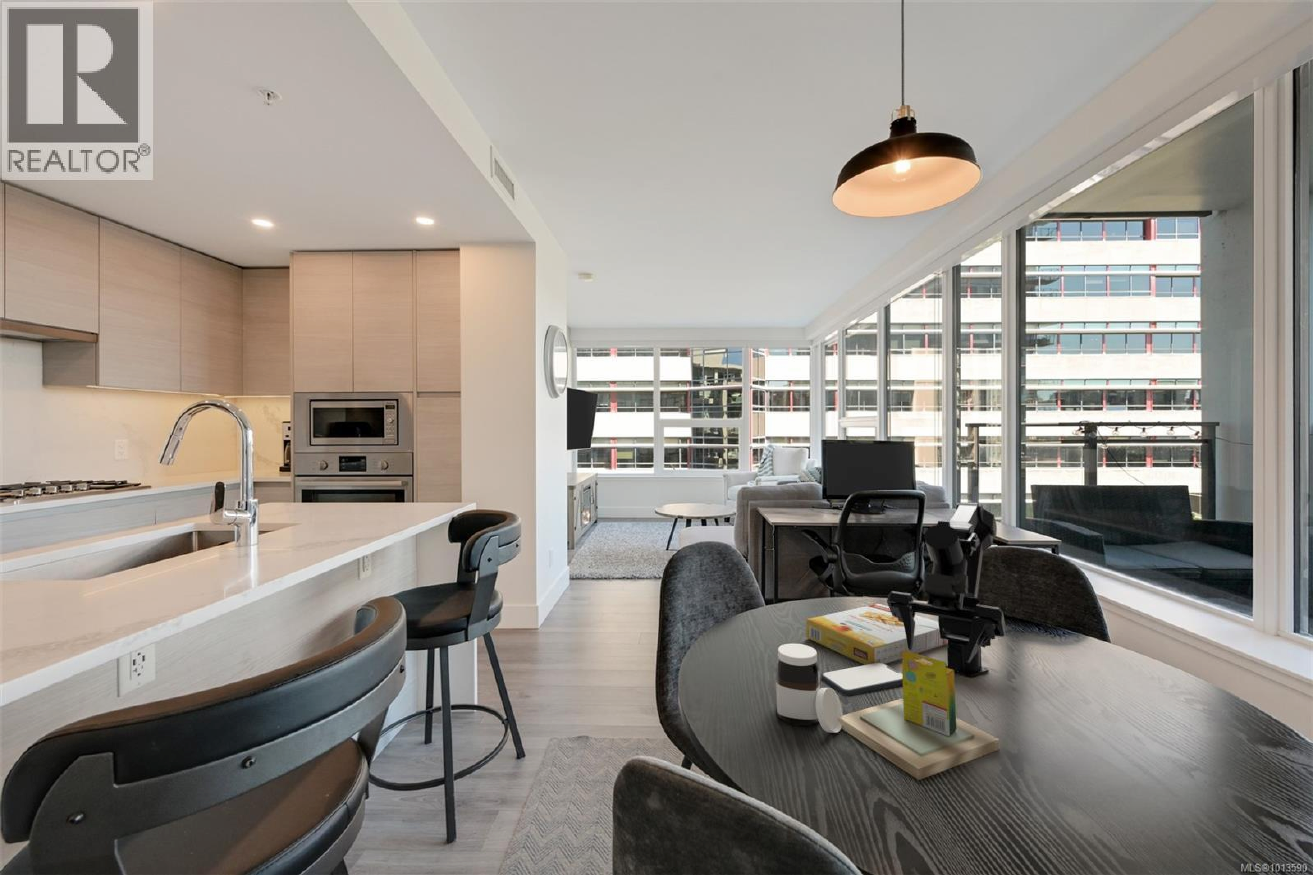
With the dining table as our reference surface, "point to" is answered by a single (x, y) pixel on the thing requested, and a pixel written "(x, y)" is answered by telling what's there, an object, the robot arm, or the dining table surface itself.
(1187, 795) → the dining table surface
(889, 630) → the cereal box
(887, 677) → the smartphone
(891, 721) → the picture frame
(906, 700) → the crayon box
